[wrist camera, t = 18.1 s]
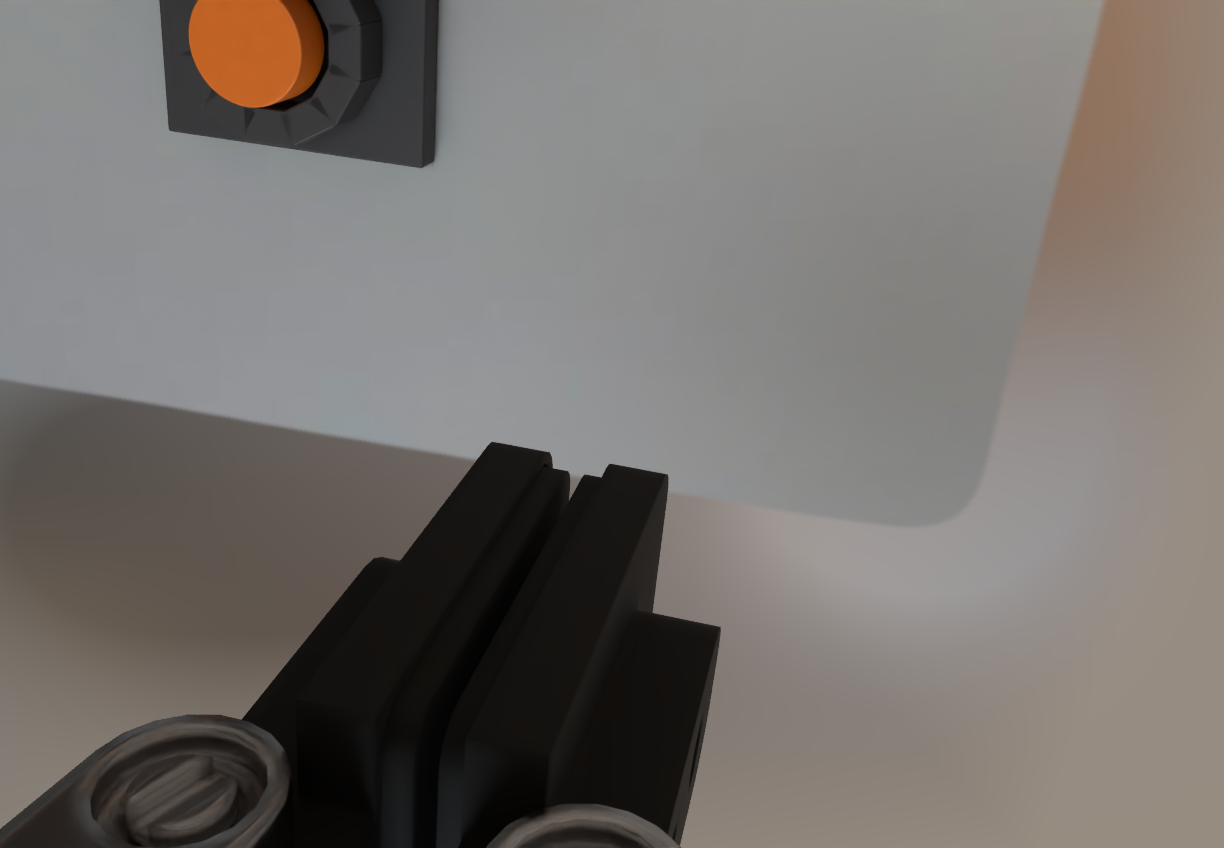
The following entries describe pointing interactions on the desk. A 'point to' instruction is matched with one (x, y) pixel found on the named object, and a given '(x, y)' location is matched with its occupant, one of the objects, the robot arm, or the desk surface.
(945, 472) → the desk surface
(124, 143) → the desk surface
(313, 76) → the button
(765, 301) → the desk surface
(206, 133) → the control block
